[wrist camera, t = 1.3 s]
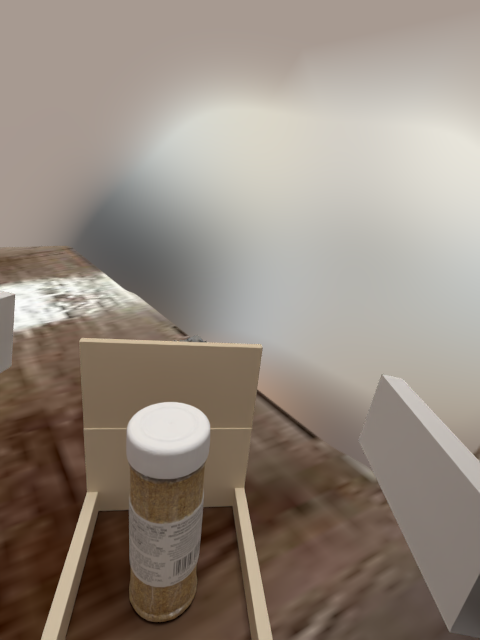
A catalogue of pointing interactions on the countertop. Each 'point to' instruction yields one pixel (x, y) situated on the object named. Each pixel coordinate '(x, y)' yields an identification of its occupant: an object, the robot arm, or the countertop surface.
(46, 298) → the countertop surface
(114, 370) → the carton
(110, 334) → the countertop surface
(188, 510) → the spice jar
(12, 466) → the countertop surface
